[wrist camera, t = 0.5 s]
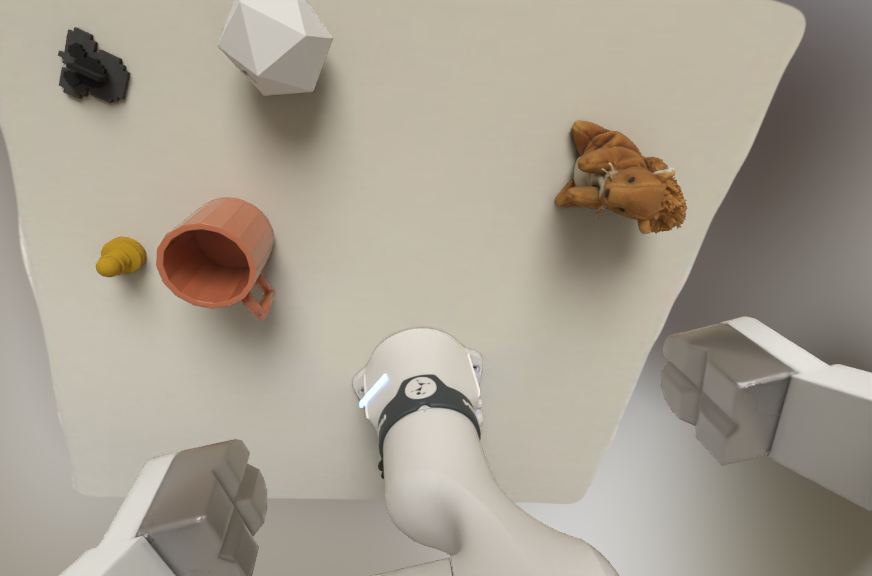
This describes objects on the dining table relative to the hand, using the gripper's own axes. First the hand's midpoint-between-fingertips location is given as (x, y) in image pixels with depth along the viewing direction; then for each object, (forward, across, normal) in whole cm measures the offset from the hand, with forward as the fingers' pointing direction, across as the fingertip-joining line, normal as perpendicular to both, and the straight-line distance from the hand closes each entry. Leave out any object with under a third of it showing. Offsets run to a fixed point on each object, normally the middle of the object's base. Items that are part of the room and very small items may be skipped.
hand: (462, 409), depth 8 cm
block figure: (+44, -26, +10) cm, 52 cm away
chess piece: (+44, -31, -8) cm, 55 cm away
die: (+44, -8, +9) cm, 46 cm away
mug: (+44, -19, -10) cm, 49 cm away
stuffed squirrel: (+44, +26, -10) cm, 52 cm away
